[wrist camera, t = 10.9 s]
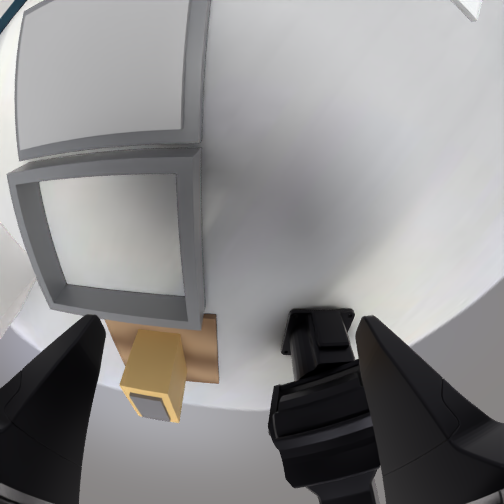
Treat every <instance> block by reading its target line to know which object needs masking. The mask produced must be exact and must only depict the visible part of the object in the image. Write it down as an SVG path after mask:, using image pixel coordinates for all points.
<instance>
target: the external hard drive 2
mask: <svg viewBox="0 0 504 504" xmlns="http://www.w3.org/2000/svg"><path fill="white" fill-rule="evenodd" d="M451 1H452V2H453V3H454V4H455V5H456V6H457V7H458V8H459V9H460V10H461V11H462V12H463V13H464V14H465V15H466V16H467V17H468V18H469V19H470V20H471V21H477V19H478V16H479V12H480V8H481V5H482V1H483V0H451Z"/></svg>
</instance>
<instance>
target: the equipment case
mask: <svg viewBox="0 0 504 504" xmlns="http://www.w3.org/2000/svg"><path fill="white" fill-rule="evenodd" d="M210 3H211V0H44V1H42V2H40V3H38V4H36V5H35V6H33V7H31V8H29V9H28V10H26V11H24V14H23V19H22V24H21V30H20V36H19V42H18V50H17V60H16V73H15V125H16V138H17V148H18V156H19V161H23V160H28V159H33V158H38V157H43V156H49V155H55V154H61V153H67V152H74V151H81V150H89V149H98V148H108V147H119V146H132V145H149V144H183V143H200V142H201V141H202V113H203V90H204V72H205V57H206V44H207V32H208V22H209V12H210ZM201 150H202V148H152V149H133V150H118V151H107V152H97V153H88V154H79V155H72V156H65V157H58V158H52V159H46V160H40V161H35V162H29V163H27V164H25V165H23V166H21V167H19V168H17V169H15V170H13V171H12V172H10V173H8V174H7V179H8V184H9V189H10V194H11V199H12V203H13V207H14V211H15V215H16V219H17V222H18V226H19V229H20V233H21V236H22V239H23V242H24V245H25V248H26V251H27V254H28V257H29V260H30V262H31V265H32V268H33V270H34V273H35V275H36V278H37V280H38V283H39V285H40V287H41V290H42V292H43V294H44V296H45V299H46V301H47V303H48V305H49V307H50V309H52V310H57V311H62V312H67V313H72V314H77V315H82V316H85V315H86V314H95V315H97V316H98V317H99V319H106V320H112V321H119V322H126V323H133V324H140V325H149V326H157V327H166V328H176V329H187V330H200V331H201V328H202V322H203V316H204V310H205V296H204V277H203V252H202V213H201ZM131 174H176V184H177V207H178V224H179V238H180V251H181V262H182V273H183V283H184V292H185V297H181V296H169V295H157V294H146V293H136V292H126V291H117V290H108V289H99V288H91V287H84V286H76V285H69V284H67V283H66V281H65V278H64V275H63V273H62V270H61V267H60V264H59V261H58V258H57V255H56V252H55V248H54V245H53V242H52V238H51V235H50V231H49V227H48V224H47V220H46V216H45V211H44V207H43V202H42V198H41V193H40V187H39V181H48V180H57V179H67V178H79V177H92V176H108V175H131Z"/></svg>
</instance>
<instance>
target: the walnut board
mask: <svg viewBox="0 0 504 504" xmlns="http://www.w3.org/2000/svg"><path fill="white" fill-rule="evenodd" d="M105 322H106V324H107V327H108V329H109V331H110V334H111V336H112V338H113V341H114V343H115V345H116V347H117V350H118V352H119V354H120V356H121V358H122V360H123V362H124V364H125V366H126V364H127V361H128V358H129V355H130V352H131V349H132V346H133V343H134V340H135V337H136V335H137V332H138V329H143V330H150V331H158V332H167V333H176V334H180V335H181V341H182V346H183V352H184V357H185V362H186V368H187V376H186V381H192V382H203V383H216V384H219V371H218V350H217V324H216V315H215V314H204V316H203V322H202V328H201V331H200V330H187V329H176V328H166V327H157V326H149V325H140V324H133V323H126V322H119V321H112V320H106V319H105Z"/></svg>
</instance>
